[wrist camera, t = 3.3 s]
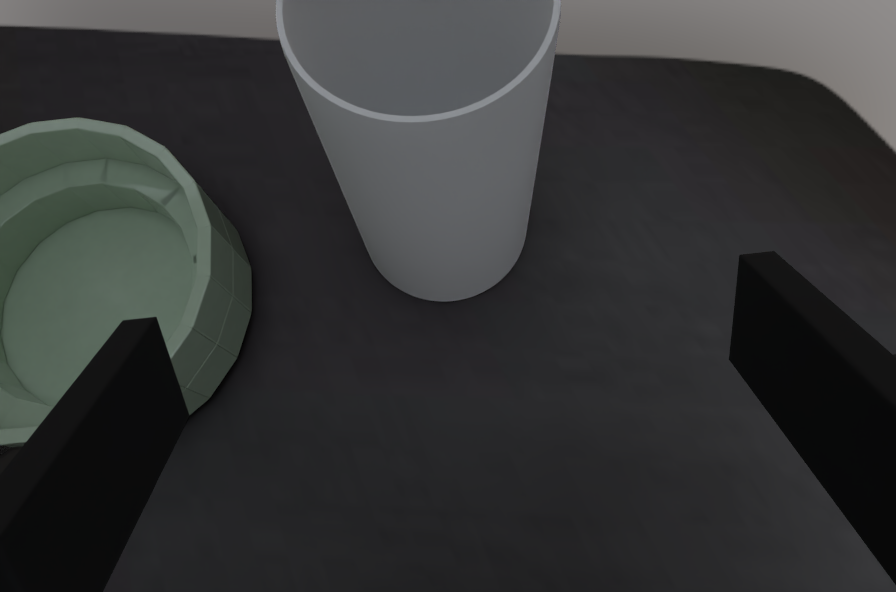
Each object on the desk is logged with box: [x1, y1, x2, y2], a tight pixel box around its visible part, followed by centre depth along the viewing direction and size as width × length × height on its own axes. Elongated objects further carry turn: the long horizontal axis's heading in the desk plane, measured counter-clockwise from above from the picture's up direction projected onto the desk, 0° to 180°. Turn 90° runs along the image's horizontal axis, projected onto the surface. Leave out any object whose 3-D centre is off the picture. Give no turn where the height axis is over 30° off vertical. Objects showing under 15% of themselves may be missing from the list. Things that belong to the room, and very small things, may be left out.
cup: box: [276, 0, 561, 302], centre depth 27 cm, size 8×8×16 cm
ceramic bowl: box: [0, 117, 252, 447], centre depth 31 cm, size 14×14×6 cm
